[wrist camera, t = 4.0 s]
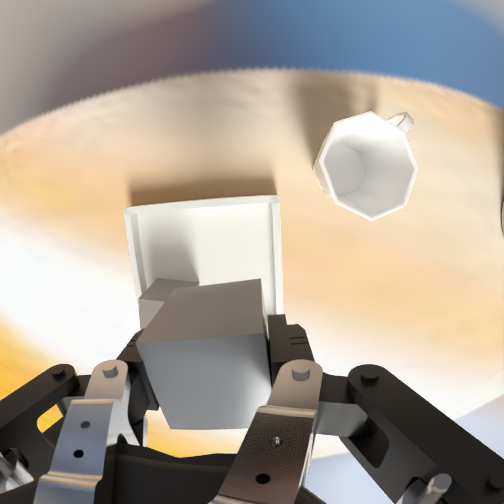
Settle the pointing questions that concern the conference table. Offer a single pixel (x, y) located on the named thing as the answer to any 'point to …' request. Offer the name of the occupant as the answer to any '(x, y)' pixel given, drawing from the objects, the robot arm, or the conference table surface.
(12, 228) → the conference table surface
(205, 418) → the matte grey cube
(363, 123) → the cup
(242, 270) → the divided tray
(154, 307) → the stone
